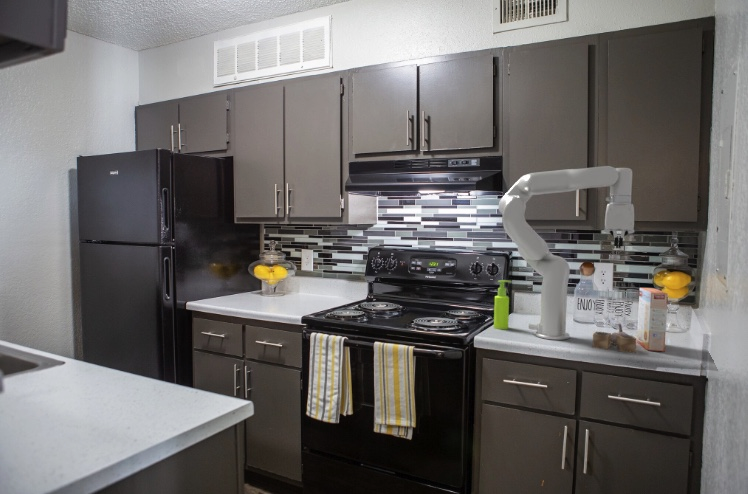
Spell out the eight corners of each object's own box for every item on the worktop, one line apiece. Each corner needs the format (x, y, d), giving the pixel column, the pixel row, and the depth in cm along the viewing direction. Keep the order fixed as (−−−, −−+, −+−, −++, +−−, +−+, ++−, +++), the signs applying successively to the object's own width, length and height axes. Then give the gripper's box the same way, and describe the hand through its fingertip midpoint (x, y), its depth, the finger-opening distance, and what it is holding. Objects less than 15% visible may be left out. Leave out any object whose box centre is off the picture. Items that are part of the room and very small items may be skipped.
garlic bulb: (611, 346, 195) (611, 324, 195) (606, 341, 203) (607, 320, 202) (633, 347, 194) (634, 325, 193) (628, 342, 201) (629, 321, 200)
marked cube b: (592, 347, 193) (593, 333, 192) (595, 344, 197) (596, 330, 197) (607, 349, 190) (608, 335, 190) (610, 347, 194) (610, 332, 194)
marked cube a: (620, 351, 187) (621, 337, 187) (616, 348, 192) (617, 333, 192) (635, 352, 186) (636, 337, 186) (631, 349, 191) (632, 334, 191)
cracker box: (665, 352, 187) (668, 293, 186) (647, 351, 189) (650, 292, 187) (653, 342, 201) (656, 287, 200) (636, 341, 202) (638, 287, 201)
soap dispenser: (512, 329, 222) (514, 281, 221) (496, 329, 221) (498, 281, 220) (507, 326, 228) (508, 279, 227) (491, 326, 227) (492, 279, 226)
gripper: (598, 200, 205) (596, 247, 207) (642, 200, 199) (640, 249, 200) (599, 200, 212) (597, 246, 213) (641, 200, 206) (639, 248, 207)
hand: (618, 247), depth 207 cm, fingers closed
